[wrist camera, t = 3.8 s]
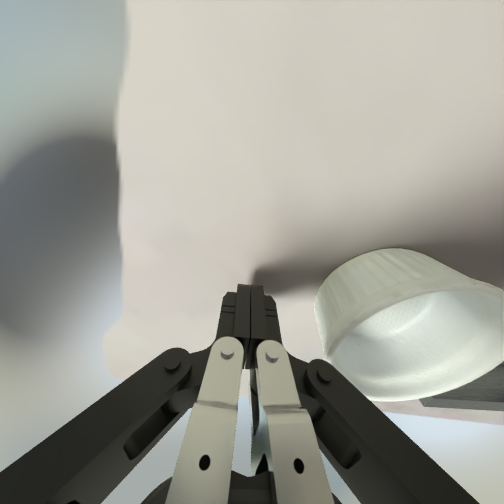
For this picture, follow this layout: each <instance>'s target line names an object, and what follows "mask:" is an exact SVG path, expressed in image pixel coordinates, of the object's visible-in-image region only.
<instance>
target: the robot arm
mask: <svg viewBox="0 0 504 504" xmlns="http://www.w3.org/2000/svg"><path fill="white" fill-rule="evenodd" d="M244 365H245V369H250V382H249V401H250V419H251V437H252V440H251V475H252V477H246V476H244V475H241V474H239V473H237V472H235V471H232V470H231V468H232V459H233V449H234V441H235V431H236V422H237V412H238V411H237V410H238V397H239V389H240V380H241V373H242V369H244ZM192 407H193V408H192ZM189 408H192V411H191V415H190V418H189V422H188V425H187V428H186V432H185V436H184V439H183V443H182V446H181V450H180V453H179V457H178V460H177V463H176V467H175V470H174V474H173V476H172V477H170V478H169V479H167V480H166V481H164V482H163V483H161V484H160V485H159V486H158V487H157V488H156V489H154V490H153V491H152V492H151V493H150V494H149V495H148V496H147V497H146V499H145V500H144V501H143V502H142V503H141V504H342V503H341V502H340V501H339V500H338V498H337V497H336V496H335V495H334V494H333V493H332V492H331V489H330V486H329V482H328V479H327V475H326V471H325V468H324V464H323V460H322V457H321V453H320V450H321V451H322V453H323V454H324V455H325V457H326V458H327V459H328V461H329V462H330V463H331V465H332V466H333V467H334V468H335V470H336V471H337V472H338V474H339V475H340V476H341V478H342V479H343V480H344V482H345V483H346V484H347V486H348V487H349V488H350V490H351V491H352V492H353V494H354V495H355V496H356V497H357V499H358V500H359V501H360V503H361V504H479V503H478V502H477V501H476V500H475V499H474V498H473V497H472V496H471V495H470V494H469V493H468V492H466V490H464V489H463V488H462V487H461V486H460V485H459V484H458V483H457V482H456V481H455V480H454V479H453V478H452V477H451V476H449V475H448V474H447V473H446V472H445V471H444V470H443V469H442V468H441V467H440V466H439V465H438V464H437V463H436V462H435V461H434V460H433V459H431V458H430V457H429V456H428V455H427V454H426V453H425V452H424V451H423V450H422V449H421V448H420V447H419V446H418V445H417V444H415V443H414V442H413V441H412V440H411V439H410V438H409V437H408V436H407V435H406V434H405V433H404V432H403V431H402V430H401V429H399V428H398V427H397V426H396V425H395V424H394V423H393V422H392V421H391V420H390V419H389V418H388V417H387V416H386V415H385V414H384V413H383V412H381V411H380V410H379V409H378V408H377V407H376V406H375V405H374V404H373V403H372V402H371V401H370V400H369V399H368V398H367V397H366V396H364V395H363V394H362V393H361V392H360V391H359V390H358V389H357V388H356V387H355V386H354V385H353V384H352V383H351V382H350V381H349V380H347V379H346V378H345V377H344V376H343V375H342V374H341V373H340V372H339V371H338V370H337V369H336V368H335V367H334V366H332V365H331V364H330V363H328V362H327V361H325V360H321V359H314V360H312V361H311V362H310V363H307V362H304V361H302V360H299V359H297V358H295V357H293V356H292V355H290V354H289V353H288V352H287V351H286V349H285V348H284V346H283V344H282V340H281V334H280V327H279V321H278V315H277V308H276V302H275V301H274V300H273V298H272V297H271V296H267V295H264V290H263V286H255V285H251V286H250V285H244V284H238V286H237V293H235V292H227V294H226V295H225V296H224V297H223V301H222V307H221V313H220V318H219V324H218V329H217V335H216V339H215V341H214V342H213V344H212V345H211V346H209V347H208V348H207V349H205V350H202V351H199V352H195V353H191V354H189V353H188V351H186V350H185V349H182V348H171V349H168V350H166V351H165V352H163V353H162V354H160V355H159V356H158V357H156V358H155V359H153V360H152V361H151V362H149V363H148V364H147V365H145V366H144V367H143V368H141V369H140V370H139V371H137V372H136V373H134V374H133V375H132V376H130V377H129V378H128V379H126V380H125V381H124V382H122V383H121V384H119V385H118V386H117V387H115V388H114V389H113V390H111V391H110V392H109V393H107V394H106V395H105V396H103V397H102V398H100V399H99V400H98V401H96V402H95V403H94V404H92V405H91V406H90V407H88V408H87V409H86V410H84V411H83V412H81V413H80V414H79V415H77V416H76V417H75V418H74V419H72V420H71V421H69V422H68V423H67V424H65V425H64V426H62V427H61V428H60V429H58V430H57V431H56V432H54V433H53V434H52V435H50V436H49V437H48V438H46V439H45V440H44V441H42V442H41V443H40V444H38V445H37V446H35V447H34V448H33V449H32V450H30V451H29V452H27V453H26V454H24V455H23V456H22V457H20V458H19V459H18V460H16V461H15V462H14V463H12V464H11V465H10V466H8V467H7V468H5V469H4V470H3V471H1V472H0V504H101V503H102V502H103V501H104V499H105V498H106V497H107V496H108V495H109V494H110V493H111V492H112V491H113V490H114V489H115V488H116V487H117V486H118V484H119V483H120V482H121V481H122V480H123V479H124V478H125V477H126V476H127V475H128V474H129V473H130V472H131V471H132V469H133V468H134V467H135V466H136V465H137V464H138V463H139V462H140V461H141V460H142V459H143V458H144V457H145V455H146V454H147V453H148V452H149V451H150V450H151V449H152V448H153V447H154V446H155V445H156V444H157V442H159V440H160V439H161V438H162V437H163V436H164V435H165V434H166V433H167V432H168V431H169V430H170V429H171V427H172V426H173V425H174V424H175V423H176V422H177V421H178V420H179V419H180V418H181V417H182V416H183V415H184V414H185V412H186V411H187V410H188V409H189ZM319 449H320V450H319ZM294 466H295V467H294Z"/></svg>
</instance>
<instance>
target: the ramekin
mask: <svg viewBox="0 0 504 504" xmlns="http://www.w3.org/2000/svg"><path fill="white" fill-rule="evenodd" d="M315 316H316V321H317V325H318V329H319V333H320V337H321V341H322V345H323V349H324V351H323V359H324V360H325V361H327V362H328V363H330V364H331V365H332V366H334V367H335V368H336V369H337V370H338V371H339V372H340V373H341V374H342V375H343V376H344V377H345V378H346V379H347V380H349V381H350V382H351V383H352V384H353V385H354V386H355V387H356V388H357V389H358V390H359V391H360V392H361V393H362V394H363V395H364V396H366V397H367V398H368V399H369V400H375V401H386V402H387V401H406V400H413V399H419V398H424V397H430V396H434V395H437V394H441V393H444V392H447V391H450V390H452V389H456V388H458V387H460V386H462V385H465V384H467V383H469V382H472V381H473V380H475V379H477V378H479V377H481V376H482V375H484V374H486V373H487V372H489V371H491V370H492V369H494V368H495V367H496V366H498V365H499V364H500V363H501V362H503V361H504V290H503V289H500V288H498V287H496V286H494V285H491V284H488V283H486V282H482V281H479V280H475V279H472V278H469V277H467V276H465V275H464V274H462V273H460V272H458V271H456V270H454V269H452V268H450V267H448V266H446V265H444V264H442V263H440V262H438V261H436V260H434V259H433V258H431V257H429V256H426V255H424V254H422V253H419V252H415V251H413V250H407V249H402V248H389V249H380V250H375V251H371V252H368V253H365V254H362V255H360V256H357V257H355V258H353V259H351V260H349V261H347V262H345V263H344V264H342V265H341V266H340V267H338V268H337V269H335V270H334V271H333V272H332V273H331V274H330V275H329V276H328V277H327V278H326V279H325V281H324V282H323V283H322V285H321V286H320V288H319V290H318V293H317V296H316V299H315Z"/></svg>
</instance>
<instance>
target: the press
mask: <svg viewBox="0 0 504 504" xmlns="http://www.w3.org/2000/svg"><path fill="white" fill-rule="evenodd" d="M419 400H420V402H421V403H422V405H423V406H424V407H440V408H458V409H475V410H493V411H504V365H498V366H496V367H495V368H494V369H492V370H491V371H489V372H487V373H486V374H484V375H482V376H481V377H479V378H477V379H475V380H473V381H472V382H469V383H467V384H465V385H462V386H460V387H458V388H456V389H452V390H450V391H447V392H444V393H441V394H437V395H434V396H430V397H424V398H419Z"/></svg>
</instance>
